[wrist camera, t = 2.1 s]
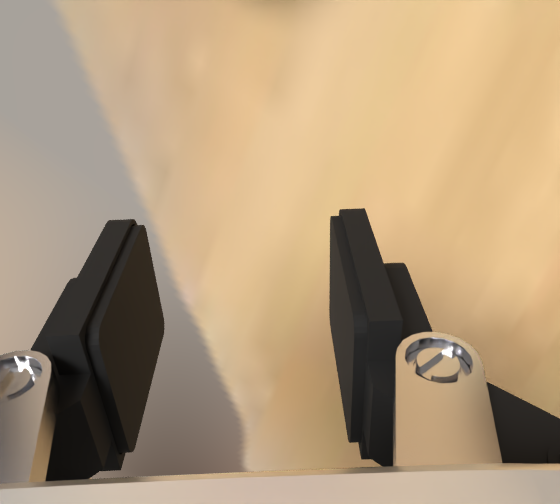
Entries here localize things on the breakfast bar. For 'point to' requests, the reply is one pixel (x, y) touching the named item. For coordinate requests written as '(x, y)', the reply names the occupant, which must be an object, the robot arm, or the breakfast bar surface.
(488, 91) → the breakfast bar surface
